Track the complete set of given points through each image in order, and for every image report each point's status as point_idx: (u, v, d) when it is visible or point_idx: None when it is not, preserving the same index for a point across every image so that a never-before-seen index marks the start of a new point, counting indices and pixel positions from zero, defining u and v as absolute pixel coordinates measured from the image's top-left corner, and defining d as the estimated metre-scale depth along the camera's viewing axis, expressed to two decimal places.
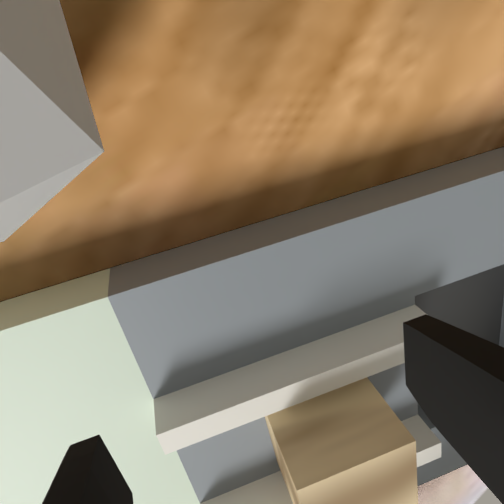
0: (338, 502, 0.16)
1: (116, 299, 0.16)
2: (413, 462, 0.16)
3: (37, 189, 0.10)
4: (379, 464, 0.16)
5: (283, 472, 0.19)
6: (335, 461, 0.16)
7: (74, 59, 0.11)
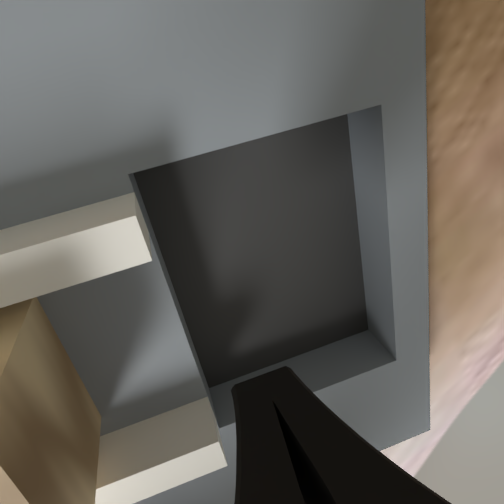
0: None
1: None
2: (3, 482, 0.08)
3: None
4: None
5: None
6: None
7: None
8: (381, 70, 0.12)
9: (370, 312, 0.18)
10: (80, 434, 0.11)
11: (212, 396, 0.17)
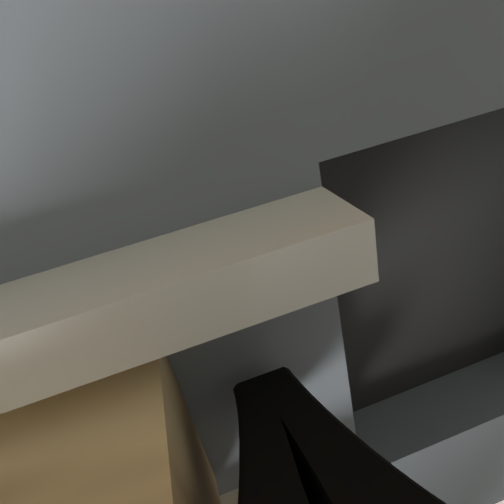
0: None
1: None
2: None
3: None
4: None
5: None
6: None
7: None
8: None
9: None
10: None
11: None
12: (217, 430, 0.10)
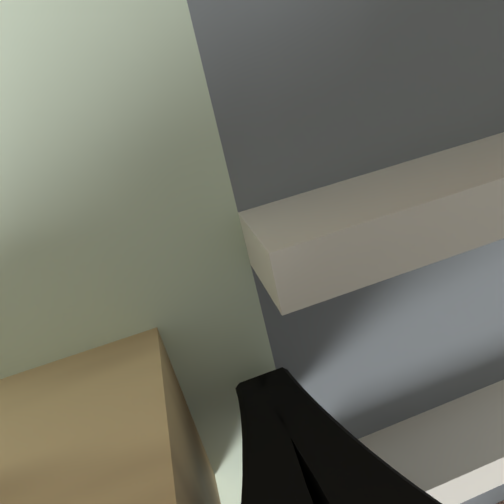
0: None
1: None
2: None
3: None
4: None
5: None
6: None
7: None
8: None
9: None
10: None
11: None
12: None
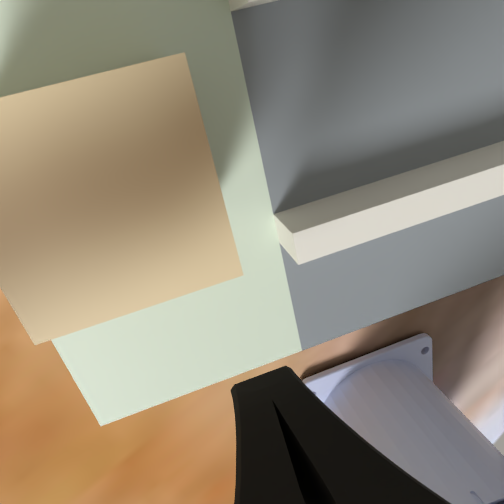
0: (36, 191, 0.08)
1: None
2: (196, 121, 0.08)
3: None
4: (107, 99, 0.08)
5: None
6: (16, 94, 0.08)
7: None
8: None
9: None
10: None
11: None
12: (494, 83, 0.15)
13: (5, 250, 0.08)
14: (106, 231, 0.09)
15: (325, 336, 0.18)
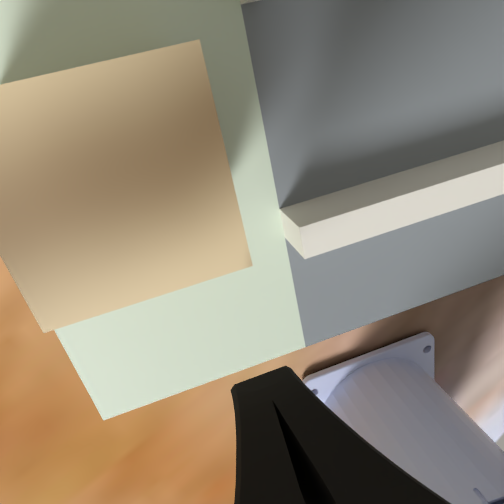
0: (48, 176, 0.08)
1: None
2: (209, 108, 0.08)
3: None
4: (122, 85, 0.08)
5: None
6: (30, 78, 0.08)
7: None
8: None
9: None
10: None
11: None
12: (500, 80, 0.15)
13: (16, 235, 0.08)
14: (117, 219, 0.09)
15: (328, 333, 0.18)
